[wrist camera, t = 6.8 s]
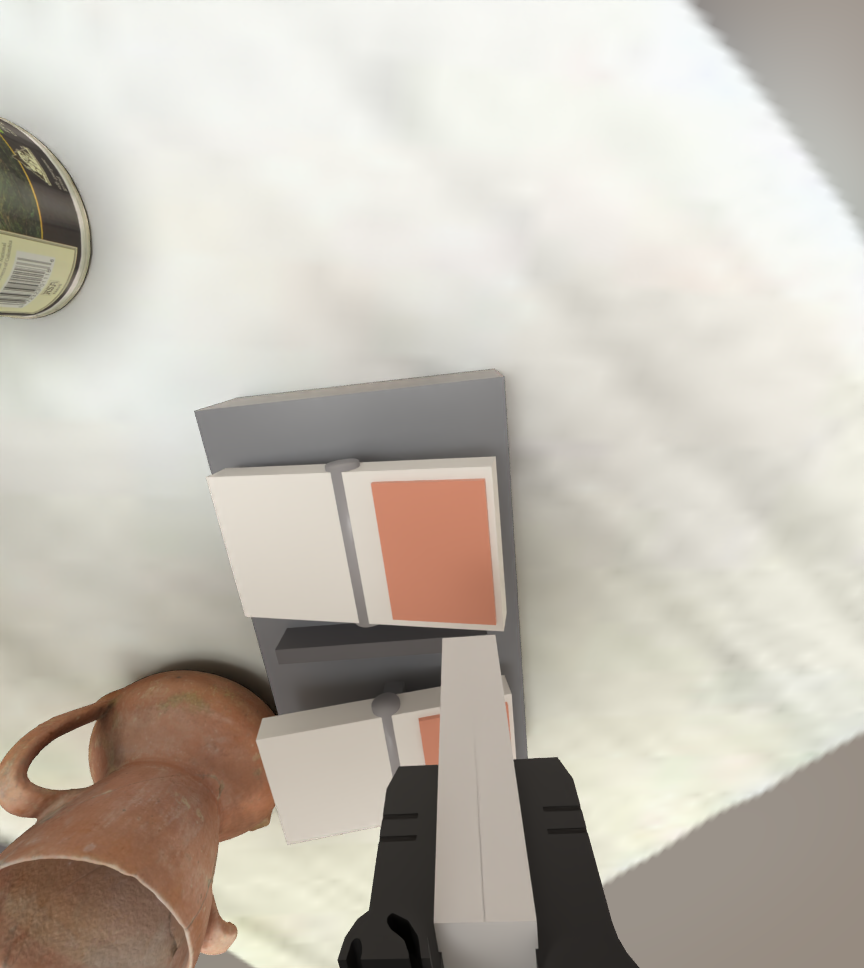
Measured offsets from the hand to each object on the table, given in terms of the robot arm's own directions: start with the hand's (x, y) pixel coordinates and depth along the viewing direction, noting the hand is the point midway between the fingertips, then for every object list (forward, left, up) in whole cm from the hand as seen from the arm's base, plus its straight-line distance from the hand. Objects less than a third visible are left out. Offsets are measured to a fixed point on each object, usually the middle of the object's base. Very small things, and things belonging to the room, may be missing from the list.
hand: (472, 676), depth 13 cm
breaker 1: (-5, 0, -9) cm, 11 cm away
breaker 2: (-5, -14, -9) cm, 18 cm away
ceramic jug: (-22, -18, -18) cm, 34 cm away
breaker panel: (-5, -7, -17) cm, 19 cm away
